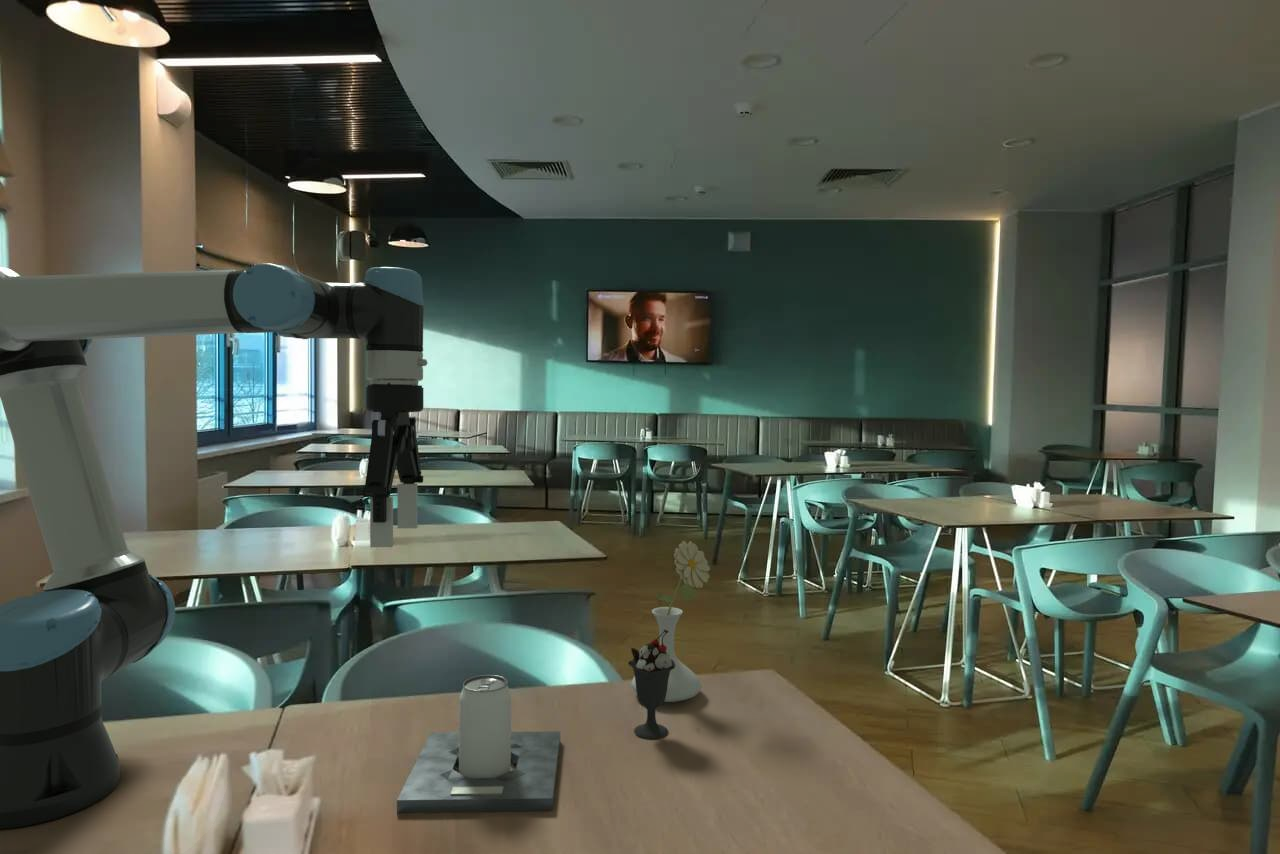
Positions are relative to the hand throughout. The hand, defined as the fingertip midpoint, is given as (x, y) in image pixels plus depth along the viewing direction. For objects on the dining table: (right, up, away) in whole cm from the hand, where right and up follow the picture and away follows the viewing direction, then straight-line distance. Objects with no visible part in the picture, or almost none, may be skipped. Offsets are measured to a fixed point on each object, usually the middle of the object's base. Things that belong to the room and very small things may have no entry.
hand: (395, 537), depth 109 cm
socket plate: (+14, -29, -8) cm, 33 cm away
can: (+14, -30, -8) cm, 34 cm away
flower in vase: (+39, -29, +19) cm, 52 cm away
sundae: (+35, -29, +5) cm, 46 cm away
